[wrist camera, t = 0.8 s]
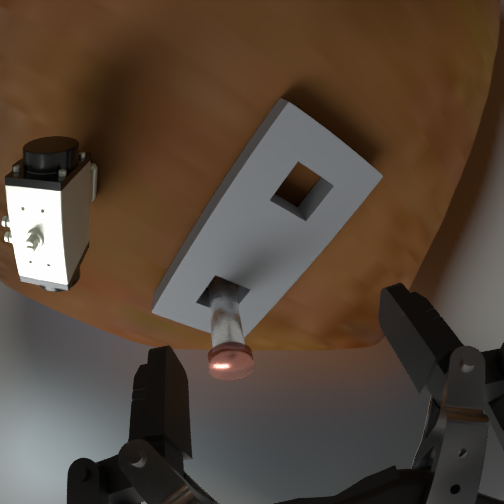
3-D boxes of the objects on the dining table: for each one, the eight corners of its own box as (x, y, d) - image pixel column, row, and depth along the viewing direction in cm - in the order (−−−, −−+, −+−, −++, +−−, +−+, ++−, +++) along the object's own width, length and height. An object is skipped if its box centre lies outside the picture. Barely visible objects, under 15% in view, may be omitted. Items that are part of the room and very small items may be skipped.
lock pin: (214, 259, 34) (223, 351, 24) (244, 272, 36) (263, 361, 26) (197, 284, 36) (200, 374, 26) (226, 295, 37) (238, 383, 27)
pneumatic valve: (109, 123, 24) (54, 166, 14) (102, 232, 30) (67, 313, 20) (57, 119, 22) (-15, 161, 13) (57, 226, 28) (10, 301, 19)
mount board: (280, 97, 25) (288, 101, 23) (369, 165, 30) (383, 176, 28) (153, 294, 36) (151, 312, 33) (237, 325, 41) (240, 342, 38)
